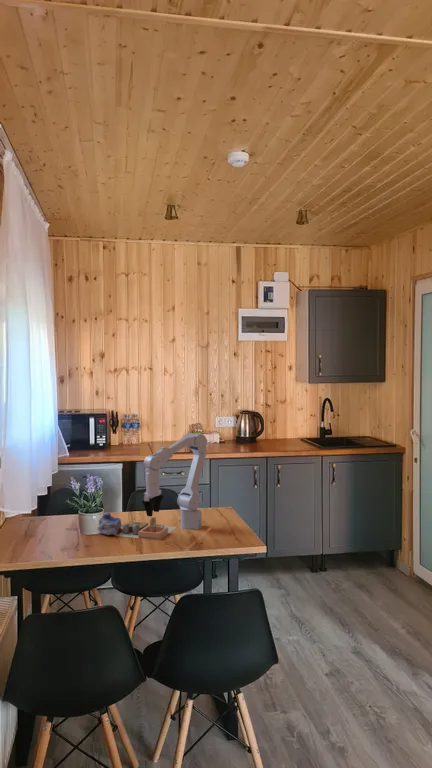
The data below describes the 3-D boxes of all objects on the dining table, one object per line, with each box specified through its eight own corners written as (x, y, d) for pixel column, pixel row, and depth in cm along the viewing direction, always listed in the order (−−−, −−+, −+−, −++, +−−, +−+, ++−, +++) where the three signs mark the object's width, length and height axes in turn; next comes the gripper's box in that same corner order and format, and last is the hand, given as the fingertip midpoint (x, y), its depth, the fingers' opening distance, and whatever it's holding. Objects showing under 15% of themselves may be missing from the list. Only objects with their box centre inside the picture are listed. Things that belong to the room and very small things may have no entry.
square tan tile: (148, 528, 257) (148, 523, 256) (140, 533, 249) (140, 527, 249) (132, 527, 259) (132, 521, 259) (124, 532, 251) (124, 526, 251)
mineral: (98, 510, 257) (120, 508, 258) (100, 530, 259) (122, 528, 260) (94, 522, 243) (117, 520, 244) (96, 543, 245) (119, 541, 245)
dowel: (157, 533, 247) (156, 517, 247) (154, 535, 244) (154, 519, 244) (151, 532, 248) (151, 517, 248) (148, 534, 245) (148, 518, 245)
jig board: (176, 528, 258) (176, 518, 258) (160, 541, 239) (160, 530, 239) (135, 525, 264) (135, 515, 264) (115, 537, 245) (115, 526, 245)
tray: (168, 532, 249) (168, 527, 249) (159, 539, 240) (159, 533, 240) (147, 531, 252) (147, 525, 252) (138, 537, 243) (138, 531, 243)
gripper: (150, 479, 254) (151, 509, 254) (137, 485, 240) (137, 517, 240) (165, 480, 252) (165, 510, 252) (152, 486, 238) (152, 518, 238)
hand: (153, 513), depth 246 cm, fingers open, 7 cm apart
